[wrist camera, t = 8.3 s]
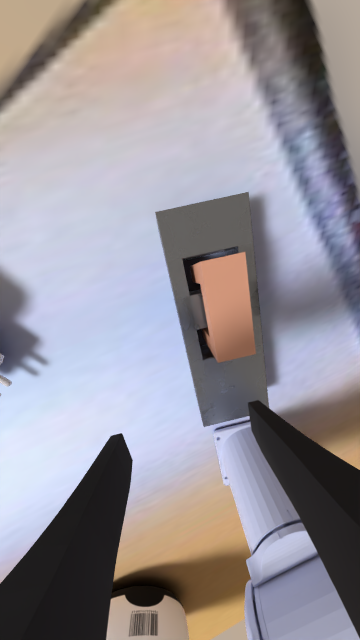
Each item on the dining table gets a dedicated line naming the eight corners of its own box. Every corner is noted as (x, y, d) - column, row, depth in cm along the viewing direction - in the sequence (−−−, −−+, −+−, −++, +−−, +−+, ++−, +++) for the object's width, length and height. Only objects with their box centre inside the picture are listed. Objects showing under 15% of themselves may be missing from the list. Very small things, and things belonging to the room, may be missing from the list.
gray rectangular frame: (254, 391, 20) (269, 410, 18) (198, 405, 20) (203, 426, 17) (232, 208, 15) (248, 192, 12) (157, 224, 15) (155, 212, 12)
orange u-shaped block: (229, 331, 18) (255, 353, 13) (202, 337, 18) (218, 362, 13) (219, 259, 16) (245, 251, 11) (189, 266, 16) (200, 261, 11)
